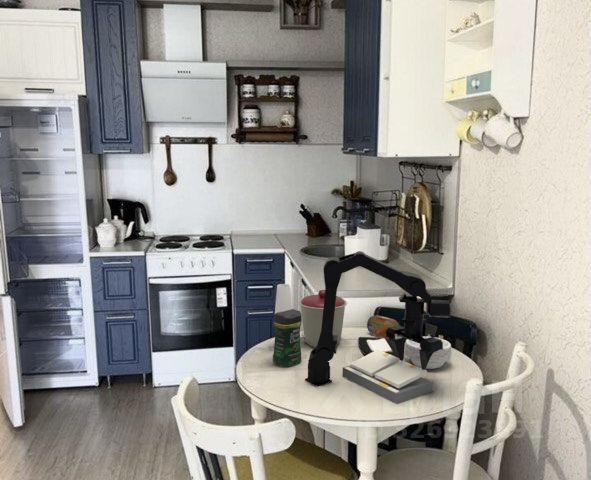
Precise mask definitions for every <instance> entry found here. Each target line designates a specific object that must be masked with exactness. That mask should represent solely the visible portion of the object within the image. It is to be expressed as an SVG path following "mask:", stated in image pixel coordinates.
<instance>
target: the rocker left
mask: <svg viewBox="0 0 591 480" xmlns="http://www.w3.org/2000/svg"><path fill="white" fill-rule="evenodd" d="M399 362H401V361H400V359H399V358H397V357H395V356H393V355H390V354H388V353H385V352H383V351H380V350H378V349H377V350H376V351H374V352H372V353H370V354H368V355H365V356H363V357H361V358H358V359H356V360H354V361H353V362H351V363H350V365H351V367H352V368H354V369H357V370H359V371H361V372H363V373H365V374H367V375H369V376H371V377H373V376H375V374H376V373H378V372H380V371H382V370H384V369H386V368H388V367H390V366H392V365H395V364H397V363H399Z"/></svg>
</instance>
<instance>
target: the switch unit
mask: <svg viewBox="0 0 591 480" xmlns="http://www.w3.org/2000/svg"><path fill="white" fill-rule="evenodd" d="M342 377H343V378H345V379H347V380H348V381H351V382H353V383H355V384H356V385H359V386H361V387H363V388H365V389H367V390H369V391H371V392H373V393H375V394H377V395H378V396H381V397H382V398H384V399H387V400H388V401H391V402H392V403H395V404H397V405H398V404H400V403H403V402H406V401H408V400H409V401H410V400H413V399H414V398H417V397H420V396H423V395H426V394H430V393H432V392H433V391H434V390H433V385H434V382H433V381H431V380H429V379H426V378H424V377H423V376H422V377H420V378H418V379H416V380H414V381H413V382H411V383H409V384H407V385H405V386H403V387H401V388H397V387H395V386H392V385H390V384H388V383H386V382H384V381H382V380H380V379H378V378H375V376H373V377H371V376H369V375H367V374H365V373H363V372H361V371H359V370H357V369H354V368H352V367H351V364H350V365H347V366H344V367H342Z"/></svg>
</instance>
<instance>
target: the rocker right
mask: <svg viewBox="0 0 591 480" xmlns="http://www.w3.org/2000/svg"><path fill="white" fill-rule="evenodd" d="M427 374H428V369H425V370H422V368H421V367H418V366H416V365H414V364H413V363H412V364H411V363H410V362H407V361H405V360H403V361H400V362H398V363H396V364H394V365H392V366H390V367H388V368H386V369H384V370H382V371H380V372H378V373H376V374H375V378H378V379H380V380H382V381H384V382H386V383H388V384H390V385H392V386H395V387H397V388H401V387H403V386H405V385H407V384H409V383H411V382H413V381H414V380H416V379H418V378H420V377H422V378H423V377H424V376H427Z"/></svg>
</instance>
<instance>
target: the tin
mask: <svg viewBox="0 0 591 480" xmlns="http://www.w3.org/2000/svg"><path fill="white" fill-rule="evenodd" d="M397 325H399V326H401V325H400V324H399V322H398V321H397V320H396V319H393V318H389V317H387V316H383V315H371V316H370V317H369V318H368V319H367V322H366V327H367V331H368V332H369V334H370V335H371V336H372V337H373V338H382V339H383V338H384V339H389V337H386V330H387V329H388V328H389V327H393V326H397Z"/></svg>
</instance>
